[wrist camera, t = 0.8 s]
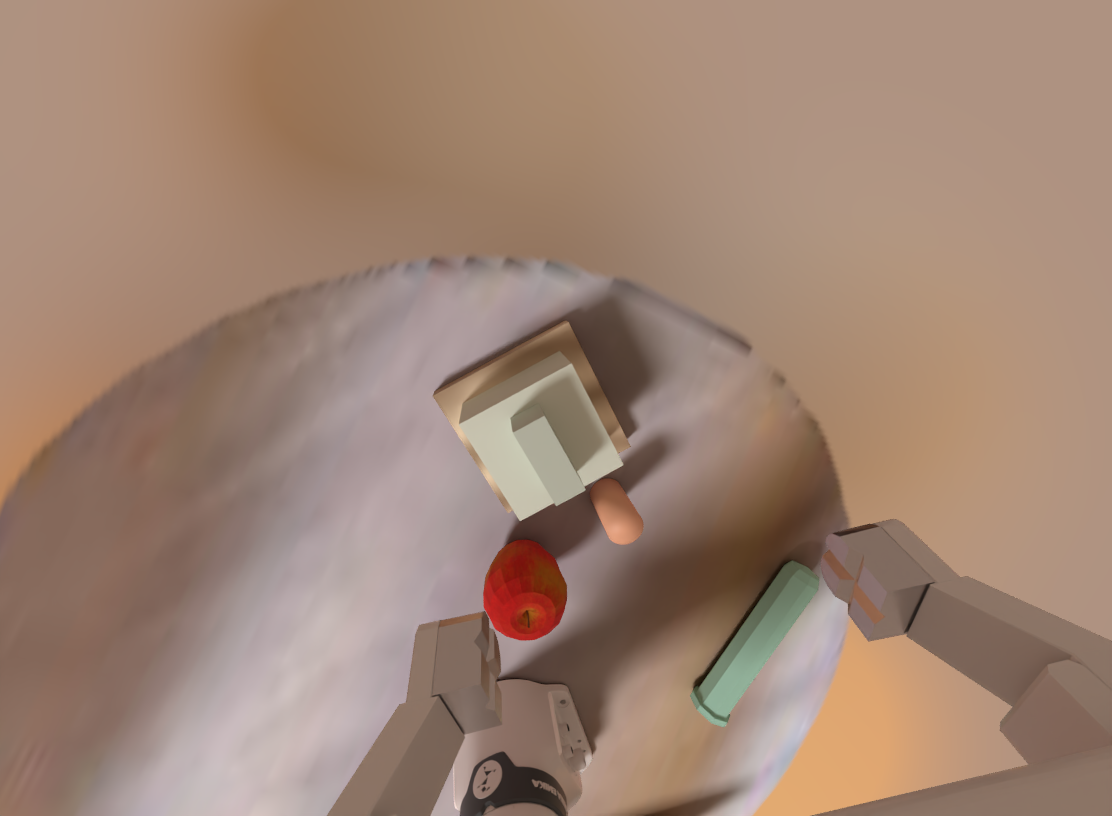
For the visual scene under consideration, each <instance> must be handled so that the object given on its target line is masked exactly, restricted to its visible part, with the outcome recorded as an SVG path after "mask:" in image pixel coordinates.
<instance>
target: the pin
mask: <svg viewBox="0 0 1112 816" xmlns="http://www.w3.org/2000/svg"><path fill="white" fill-rule="evenodd" d="M590 498H591V500H592V503H593V505H594V507H595V509H596V511H597V513H598V515H599V518H600V520H601V522H602V524H603V526H604V528H605V530H606V533H607V535H608V537H609V538H610V540H611V541H613V542H614V543H617V544H629V543H631V542H633V541H635V540H636V539H637V538H638V537H639V536H640V535H641V533H642V531H643V520H642V518H641V517H640V515H639V514H638V512H637V510H636V509H635V507H634V506H633V504H632V503H631V501H630V499H629V498H628V496H627V495H626V493H625V492H624V490H623V489H622V487H621V485H620V484H619V483H618V482H617V481H616V480H614V479H611V478H604V479H601V480H599V481H597V482H596V483H595V484H594V485H593V487H592V488H591V491H590Z"/></svg>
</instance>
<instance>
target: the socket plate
mask: <svg viewBox="0 0 1112 816" xmlns="http://www.w3.org/2000/svg"><path fill="white" fill-rule="evenodd" d="M558 351H560V352H561V353H562V354H563V355H564V356H565V357H566V358H567V359H568V360H569V361H570V362H571V363H572V365H573V367H574V369H575V371H576V373H577V375H578V377H579V379H580V381H581V383H582V385H583V387H584V389H585V391H586V393H587V394H588V396H589V398H590V400H591V402H592V404H593V406H594V408H595V410H596V412H597V414H598V416H599V418H600V420H601V422H602V424H603V426H604V428H605V430H606V432H607V434H608V435H609V437H610V439H611V441H612V443H613V445H614V447H615V449H616V451H617V453H620V452H622V451H624V450H626V449H627V448H629V447H631V446H630V444H629V442H628V440H627V438H626V436H625V434H624V432H623V430H622V428H621V426H620V424H619V422H618V420H617V418H616V416H615V414H614V412H613V410H612V408H611V406H610V404H609V402H608V400H607V398H606V396H605V394H604V392H603V390H602V388H601V386H600V384H599V382H598V380H597V378H596V376H595V374H594V372H593V370H592V368H591V366H590V364H589V362H588V360H587V358H586V356H585V354H584V352H583V350H582V348H581V346H580V344H579V342H578V340H577V338H576V336H575V334H574V332H573V330H572V328H571V326H570V324H569V322H568V321H566V320H565V321H563V322H561V323H559V324H557V325H556V326H554V327H552V328H550V329H548V330H546V331H545V332H543V333H541V334H539V335H537V336H535V337H533V338H532V339H530V340H528V341H526V342H524V343H522V344H521V345H519V346H517V347H515V348H513V349H511V350H510V351H508V352H506V353H504V354H502V355H500V356H499V357H497V358H495V359H493V360H491V361H489V362H487V363H486V364H484V365H482V366H480V367H478V368H476V369H475V370H473V371H471V372H469V373H467V374H465V375H464V376H462V377H460V378H458V379H456V380H454V381H453V382H451V383H449V384H447V385H445V386H443V387H442V388H440V389H438V390H436V391H435V392H434V394H433V397H434V399H435V400H436V402H437V403H438V405H439V406H440V408H441V410H442V411H443V413H444V414H445V416H446V417H447V419H448V420H449V422H450V424H451V425H452V427H453V428H454V430H455V431H456V433H457V434H458V436H459V438H460V439H461V441H462V442H463V444H464V445H465V447H466V449H467V450H468V452H469V453H470V455H471V456H472V458H473V459H474V461H475V463H476V464H477V466H478V467H479V469H480V470H481V472H482V473H483V475H484V477H485V478H486V480H487V481H488V483H489V484H490V486H491V487H492V489H493V491H494V492H495V494H496V495H497V497H498V498H499V500H500V501H501V503H502V505H503V506H504V508H505V509H506V511H507V512H508V513H509V512H511V511H513V509H512V508H511V506H510V504H509V503H508V501H507V500H506V498H505V497H504V495H503V493H502V492H501V490H500V489H499V487H498V486H497V484H496V482H495V481H494V479H493V478H492V476H491V475H490V473H489V471H488V470H487V468H486V467H485V465H484V464H483V462H482V460H481V459H480V457H479V456H478V454H477V453H476V451H475V449H474V448H473V446H472V445H471V443H470V442H469V440H468V438H467V437H466V435H465V434H464V432H463V430H462V429H461V427H460V426H459V420H460V415H461V409H462V403H464V402H466V401H468V400H470V399H472V398H474V397H475V396H477V395H479V394H481V393H483V392H485V391H486V390H488V389H490V388H492V387H494V386H496V385H497V384H499V383H501V382H503V381H505V380H507V379H509V378H510V377H512V376H514V375H516V374H518V373H520V372H521V371H523V370H525V369H527V368H529V367H531V366H532V365H534V364H536V363H538V362H540V361H542V360H543V359H545V358H547V357H549V356H551V355H553V354H555V353H556V352H558Z"/></svg>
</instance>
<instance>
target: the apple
mask: <svg viewBox="0 0 1112 816" xmlns="http://www.w3.org/2000/svg"><path fill="white" fill-rule="evenodd" d="M483 596H484V608H485V610H486V612H487V614H488V616H489V617H490V619H491V621H492V623H493V625H494V627H495V629H496V630H498V631H499V632H501V633H502V634H504V635H505V636H507V637H511V638H514V639H518V640H535V639H538V638H540V637H542V636H544V635H546V634H548V633H550V632H551V631H552V630H553V629H554V628H555V627H556V626H557V625H558V624H559V623H560V620H561V618H562V615H563V613H564V610H565V605H566V601H567V585H566V582H565V580H564V578H563V576H562V574H561V572H560V570H559V567H558V565H557V562H556V560H555V558H554V557H553V556H552V555H551V554H549V553H548V552H547V551H546V550H545V549H544V548H543V547H542V546H541V545H540V544H538V543H537V542H534V541H531V540H528V539H527V540H516V541H514V542H512V543H510V544H508V545H506V546H505V547H504V548H503V549H501V550H500V551H499V552H498V554H497V556H496V557H495V559H494V561H493V562H492V564H491V566H490V568H489V570H488V573H487V575H486V578H485V585H484V592H483Z"/></svg>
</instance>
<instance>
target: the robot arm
mask: <svg viewBox="0 0 1112 816" xmlns="http://www.w3.org/2000/svg"><path fill="white" fill-rule="evenodd" d="M825 544H826V546H827V547H828V548H829V550H828V551H827V552H826V553H825V554H824V555H823V556H822V560H821V570H822V574H823V578H824V580H825V581H826V583H827V585H828V587H829V589H830V590H831V591H832V593H833V594H834V596H835V597H837V598H839V599H841V600H843V601H844V602H846V603H848V615H849V616H850V617H851V618H852V620H853V621H854V623H855V624H856V625H857V627H858V628H859V629H860V630H861V632H862V633H863V635H864V636H865V637H866V638H867V640H868V641H873V640H879V639H884V638H889V637H894V636H899V635H904V634H907V637H908V638H910V639H911V640H913V641H914V642H916V643H917V644H919V645H920V646H922V647H923V648H925V649H926V650H928V651H929V652H931V653H932V654H934V655H935V656H937V657H939V658H940V659H941V660H943V661H944V662H946V663H948V664H949V665H950V666H952V667H954V668H955V669H957V670H958V671H960V672H961V673H963V674H964V675H966V676H967V677H969V678H970V679H972V680H973V681H975V682H976V683H978V684H979V685H981V686H982V687H984V688H985V689H987V690H988V691H990V692H991V693H993V694H994V695H996V696H998V697H999V698H1000V699H1002V700H1003V701H1005V702H1006V703H1008V704H1009V705H1011V706H1013V707H1012V709H1011V710H1010V711H1009V712H1008V713H1007V715H1006V716H1005V717H1004V718H1003V719H1002V721H1001V722H1000V731H1001V732H1002V733H1003V734H1004V735H1005V737H1006V738H1007V739H1008V740H1009V741H1010V743H1011V744H1012V745H1013V746H1014V747H1015V749H1016V750H1017V751H1018V752H1019V754H1020V755H1021V756H1022V757H1023V758H1024V760H1025V761H1026V762H1027V763H1028V764H1029V765H1025V766H1021V767H1016V768H1012V769H1008V770H1004V771H1000V772H995V773H991V774H987V775H983V776H978V777H974V778H970V779H965V780H961V781H957V782H952V783H948V784H944V785H940V786H935V787H931V788H927V789H923V790H918V791H914V792H910V793H906V794H901V795H897V796H893V797H889V798H884V799H880V800H876V801H872V802H868V803H863V804H859V805H854V806H850V807H846V808H842V809H838V810H833V811H829V812H824V813H820V814H816V815H812V816H1112V641H1111V640H1108V639H1106V638H1104V637H1102V636H1100V635H1097V634H1095V633H1093V632H1091V631H1088V630H1086V629H1084V628H1082V627H1079V626H1077V625H1075V624H1073V623H1071V622H1068V621H1066V620H1064V619H1061V618H1059V617H1057V616H1055V615H1053V614H1050V613H1048V612H1046V611H1044V610H1042V609H1039V608H1037V607H1035V606H1033V605H1030V604H1028V603H1026V602H1023V601H1021V600H1019V599H1017V598H1015V597H1013V596H1010V595H1008V594H1006V593H1003V592H1001V591H999V590H997V589H995V588H992V587H990V586H988V585H986V584H984V583H981V582H979V581H977V580H975V579H973V578H970V577H968V576H965V577H959V576H958V575H957V574H956V573H955V572H954V571H953V570H952V569H951V568H950V567H949V566H948V565H947V564H946V563H945V562H943V560H942V559H940V558H939V557H938V556H937V555H936V554H935V553H934V552H933V551H932V550H931V549H930V548H929V547H928V546H927V545H926V544H925V543H924V542H923V541H921V540H920V538H918V537H917V536H916V535H915V534H914V533H913V532H912V531H911V530H910V529H909V528H908V527H907V526H906V525H905V524H904V523H902V522H901V521H898V520H896V519H890V520H886V521H882V522H878V523H874V524H867V525H863V526H859V527H854V528H850V529H846V530H842V531H838V532H834V533H831V534H829V535H828V536H827V538H826V542H825ZM500 673H501V660H500V651H499V644H498V640H497V637H496V634H495V632H494V630H493V629H491V628H489V618H488V616H487V614H486V612H485V611H482V612H478V613H473V614H468V615H464V616H459V617H454V618H450V619H445V620H439V621H434V622H430V623H426V624H421V625H419V627H418V629H417V632H416V635H415V642H414V649H413V656H412V664H411V671H410V678H409V685H408V692H407V699H406V703H403V704H399V706H398V707H397V709H396V710H395V712H394V713H393V715H392V717H391V718H390V720H389V721H388V723H387V724H386V726H385V727H384V729H383V730H382V732H381V733H380V735H379V737H378V738H377V740H376V741H375V743H374V744H373V746H372V747H371V749H370V750H369V752H368V753H367V755H366V756H365V758H364V760H363V761H362V763H361V764H360V766H359V767H358V769H357V770H356V772H355V773H354V775H353V776H352V778H351V779H350V781H349V783H348V784H347V786H346V787H345V789H344V790H343V792H342V793H341V795H340V796H339V798H338V799H337V801H336V803H335V804H334V806H333V807H332V809H331V810H330V812H329V813H328V815H327V816H430V815H431V813H432V810H433V808H434V806H435V804H436V802H437V799H438V797H439V795H440V793H441V790H442V788H443V786H444V784H445V781H446V779H447V777H448V775H449V772H450V770H451V768H452V766H453V778H454V805H455V808H456V809H458V810H459V812H460V816H568V811H569V810H570V809H571V808H572V807H573V806H574V805H575V804H576V803H577V802H578V800H579V799H580V797H581V794H582V783H581V777H580V774H581V773H582V772H583V771H584V770H585V769H586V768H587V767H588V766H589V764H590V763H591V761H592V759H593V758H592V751H591V748H590V745H589V742H588V740H587V737H586V734H585V732H584V729H583V726H582V724H581V721H580V718H579V716H578V713H577V710H576V708H575V705H574V702H573V700H572V697H571V694H570V692H569V689H568V687H567V686H565V685H562V684H550V685H544V684H539V683H536V682H532V681H528V680H522V679H510V680H502V681H498V682H496V680H497V678H498V676H499V674H500Z"/></svg>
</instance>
